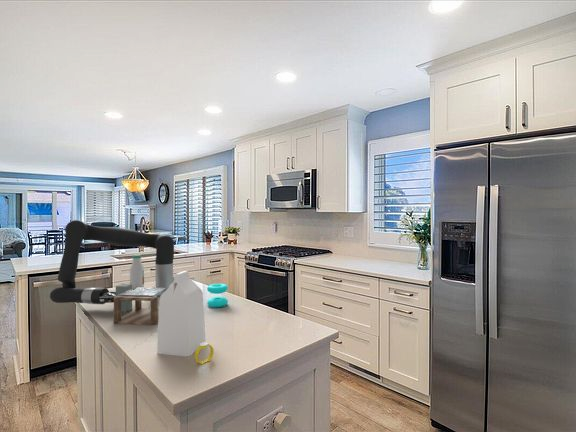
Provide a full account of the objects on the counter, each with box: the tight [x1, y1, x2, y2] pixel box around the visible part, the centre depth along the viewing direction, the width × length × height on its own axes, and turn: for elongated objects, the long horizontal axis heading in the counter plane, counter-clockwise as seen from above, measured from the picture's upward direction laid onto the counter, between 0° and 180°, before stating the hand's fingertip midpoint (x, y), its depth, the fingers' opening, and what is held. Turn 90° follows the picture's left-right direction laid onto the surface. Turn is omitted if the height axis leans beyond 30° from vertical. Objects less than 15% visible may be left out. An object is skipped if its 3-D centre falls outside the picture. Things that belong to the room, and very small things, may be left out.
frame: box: [113, 287, 168, 326], centre depth 144 cm, size 18×18×11 cm
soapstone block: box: [115, 283, 133, 313], centre depth 153 cm, size 5×5×12 cm
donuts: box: [206, 283, 229, 308], centre depth 162 cm, size 10×10×10 cm
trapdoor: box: [117, 286, 167, 301], centre depth 144 cm, size 17×13×3 cm
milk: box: [156, 270, 207, 357], centre depth 112 cm, size 12×12×26 cm
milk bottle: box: [129, 254, 145, 290], centre depth 196 cm, size 8×8×20 cm
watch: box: [194, 341, 214, 365], centre depth 101 cm, size 6×3×6 cm, turn 137°
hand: (129, 296), depth 152 cm, fingers closed on soapstone block, 5 cm apart
